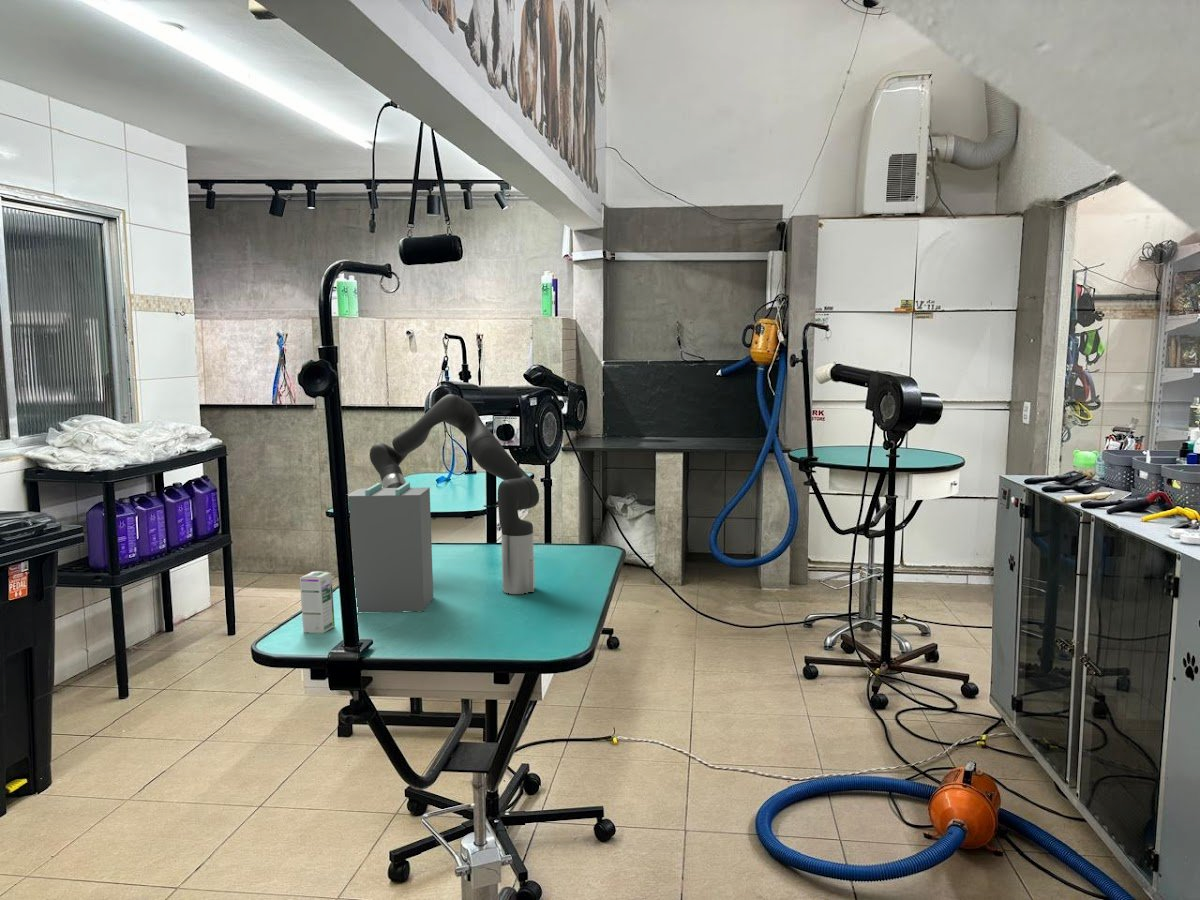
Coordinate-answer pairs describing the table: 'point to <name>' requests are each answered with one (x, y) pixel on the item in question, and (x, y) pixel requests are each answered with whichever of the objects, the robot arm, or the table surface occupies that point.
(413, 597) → the tall grey pedestal
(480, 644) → the table surface
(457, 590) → the table surface
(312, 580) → the syrup box
